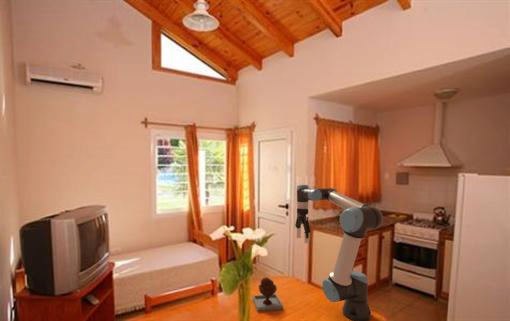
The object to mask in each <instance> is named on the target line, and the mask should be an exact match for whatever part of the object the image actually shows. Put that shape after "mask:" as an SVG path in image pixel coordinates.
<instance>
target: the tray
mask: <svg viewBox="0 0 510 321" xmlns="http://www.w3.org/2000/svg"><path fill="white" fill-rule="evenodd" d="M264 300H266V296H264V295H262V294H257V295H252V301H253V304H254V306H255V309H256V312H257V313H258V312H259V313H260V312H262V313H263V312H271V311H273V312H275V311H284V305H283V303H282V302H281V300H280V298H279V295H278V294H277V293H274V294H273V295H272V296H269V300H270V301H271V302H272V304H271V305H265V304H263V301H264Z"/></svg>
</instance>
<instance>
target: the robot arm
mask: <svg viewBox="0 0 510 321" xmlns="http://www.w3.org/2000/svg"><path fill="white" fill-rule="evenodd" d="M309 201H310V202H318V201H328V202H330V203H332V204H334V205H335V206H337V207H339V208H341V209H343V211H342V212H341V214H340V216H339V224H340V225H339V226H340V227H341V231H342V233H343V236H342V240H341V243H340V247H339V249H338V250H339V251H338V254H337V258H336V261H335V264H334V267H333V268H334V269H333V270H331V271H330V272H329V275H328V278H325V279H323V280H322V283H321V284H322V291H323V293H324V296H325V297H326V299H327V300H328V301H329V302H331V303H340V302H341V301H342V302H343V304H342V308H341V309H342V310H341V312H342V315H343V316H345V317H346V318H347V319H350V320H351V321H370V320H372V312H371V309H370V305H369V303H368V297H369V296H368V292H369V290H368V289H369V288H368V285H369V282H368V277H367V275H366V274H365V273H363V272H360V271H357V270H353V269H354V264H355V261H356V259H357V255H358V251H359V249H360V248H359V247H360V245H361V241H362V240H364V239H366V236H367V233H368V231H373V230H374V231H375V230H377V229H379V228H380V226H381V225H382V224H383V222H384V216H383V213H382V212H381V210H379V208H378V207H376V206H374V205H371V204H369V203H363V202H360V201H358V200H356V199H353V198H352V197H349V196H347V195H345V194H342V193H339V191H338V190H337V189H336V188H333V187H332V188H331V187H328V188H323V187H322V188H310V187H309V185H308V184H298V185H297V187H296V220H295V224H294V226H295V228H296V239H301V238H302V235H301V234H302V233H301V232H302V230H301V229H302V226H303V229H304V235H303V237H304V239H303V241H304V244H310V239H309V238H310V233H311V228H310V227H311V226H310V221H309V219H310V218H309V216H308V215H309Z"/></svg>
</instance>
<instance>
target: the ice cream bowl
mask: <svg viewBox="0 0 510 321" xmlns="http://www.w3.org/2000/svg"><path fill="white" fill-rule="evenodd" d="M277 289H278V288H277V285H276V284H275V283H274V281H273V280H272V279H271V278H269V277H263V278H261V280H260V284H259V285H258V290H259V293H260V295H264V296H266V300H264V301H263V304H265V305H271V304H272V302H271V301H270V300H269V296H272V295H273V294H276V292H277Z"/></svg>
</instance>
